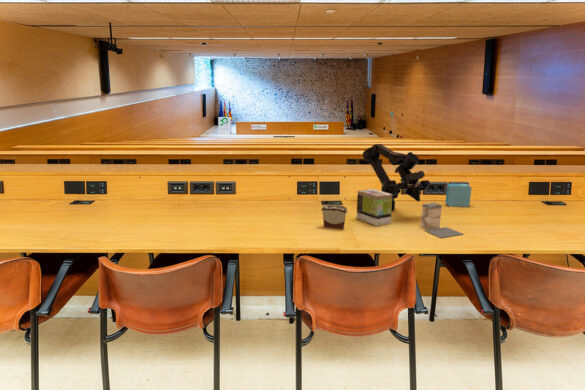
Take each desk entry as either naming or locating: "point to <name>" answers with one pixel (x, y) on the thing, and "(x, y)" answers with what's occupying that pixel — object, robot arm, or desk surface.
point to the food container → (334, 216)
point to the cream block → (431, 216)
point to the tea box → (374, 206)
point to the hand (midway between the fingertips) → (419, 201)
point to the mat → (443, 232)
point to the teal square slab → (458, 195)
